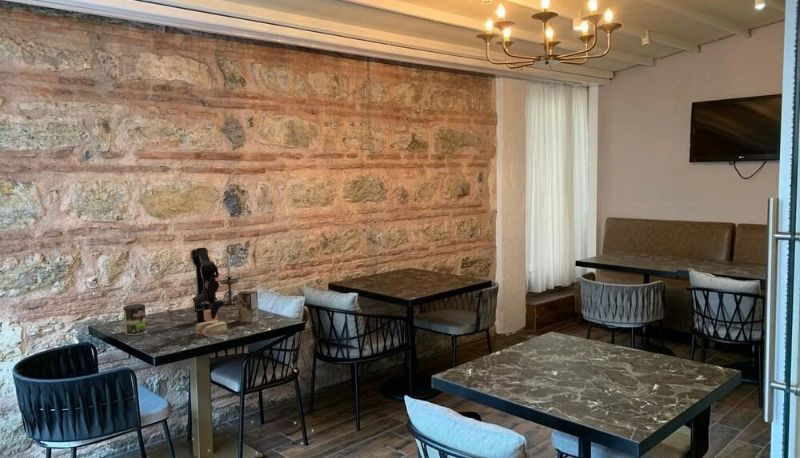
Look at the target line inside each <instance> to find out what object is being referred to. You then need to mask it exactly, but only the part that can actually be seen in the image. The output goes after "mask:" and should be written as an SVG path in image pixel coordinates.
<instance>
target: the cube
mask: <svg viewBox="0 0 800 458" xmlns="http://www.w3.org/2000/svg"><path fill="white" fill-rule="evenodd" d="M218 317H219V316H218V313H217V314H216V316H215V319H212V316H211V310H210V309H209V310H204V320H205V321H207V322H210V321H215V320H218V319H219V318H218ZM218 321H219V320H218Z"/></svg>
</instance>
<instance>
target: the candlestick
mask: <svg viewBox="0 0 800 458" xmlns="http://www.w3.org/2000/svg"><path fill="white" fill-rule="evenodd" d="M226 252H227V253H226V270H227V276H226V278H227V279H222V280H220V282H219V284H220V285H227V287H228V291H227V294H228V295H227V296H228V299H227V300H225V301H223V302H224V306H234V305H237V304H238V300H233V299H232V296H233V295H232V293H233V291H232V286H231V285H234V284H237V283H239V279H236V278H235V279H233V278H232V277H233V276H232V273H231V257H230V256H231V255H230V253H229V249H228V248H227V249H226Z"/></svg>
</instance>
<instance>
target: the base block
mask: <svg viewBox="0 0 800 458" xmlns="http://www.w3.org/2000/svg"><path fill="white" fill-rule="evenodd" d="M227 332H228V323H227V322H225V321H223V320H222V321H221V320H215V321H210V322H203V323H196V324H195V334H197V335H201V336H205V337H207V336H208V337H213V336H216V335H220V334H224V333H227ZM208 337H207V338H208Z"/></svg>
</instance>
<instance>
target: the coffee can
mask: <svg viewBox="0 0 800 458" xmlns="http://www.w3.org/2000/svg"><path fill="white" fill-rule="evenodd" d="M123 317H124V318H123V319H124V335H125V334H126V336H129V335H133V336H140V335H143V333H144V334H145V333H147V332H148V331H147V319H146V317H147V316H146V304H144V303H136V304H135V303H134V304H129V305H124V306H123ZM139 334H140V335H139Z"/></svg>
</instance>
